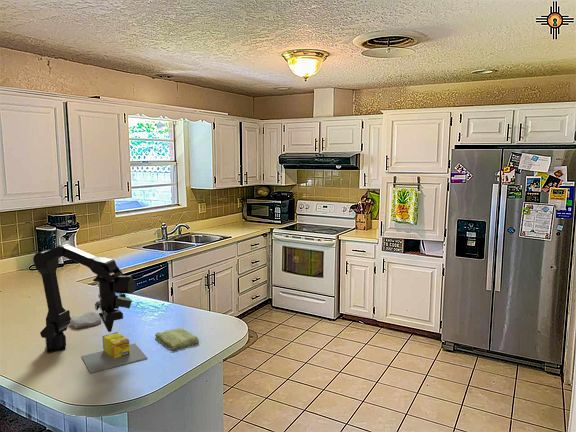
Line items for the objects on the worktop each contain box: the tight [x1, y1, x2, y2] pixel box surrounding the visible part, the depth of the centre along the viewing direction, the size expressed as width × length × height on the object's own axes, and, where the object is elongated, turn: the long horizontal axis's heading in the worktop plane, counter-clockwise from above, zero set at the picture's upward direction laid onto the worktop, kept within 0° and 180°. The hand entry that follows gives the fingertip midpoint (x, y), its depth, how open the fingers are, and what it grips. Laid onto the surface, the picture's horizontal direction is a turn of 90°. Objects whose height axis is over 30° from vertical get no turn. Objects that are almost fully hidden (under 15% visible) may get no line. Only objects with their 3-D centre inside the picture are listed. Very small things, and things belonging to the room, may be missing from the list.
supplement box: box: [102, 331, 130, 359], centre depth 168 cm, size 6×6×11 cm
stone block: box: [69, 311, 102, 329], centre depth 199 cm, size 12×5×10 cm
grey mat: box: [81, 343, 148, 374], centre depth 164 cm, size 20×16×1 cm
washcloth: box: [154, 327, 200, 351], centre depth 180 cm, size 13×18×3 cm
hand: (109, 331), depth 168 cm, fingers closed
